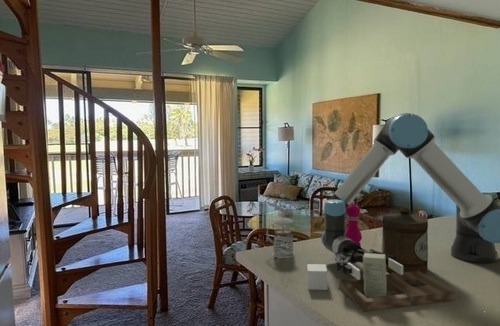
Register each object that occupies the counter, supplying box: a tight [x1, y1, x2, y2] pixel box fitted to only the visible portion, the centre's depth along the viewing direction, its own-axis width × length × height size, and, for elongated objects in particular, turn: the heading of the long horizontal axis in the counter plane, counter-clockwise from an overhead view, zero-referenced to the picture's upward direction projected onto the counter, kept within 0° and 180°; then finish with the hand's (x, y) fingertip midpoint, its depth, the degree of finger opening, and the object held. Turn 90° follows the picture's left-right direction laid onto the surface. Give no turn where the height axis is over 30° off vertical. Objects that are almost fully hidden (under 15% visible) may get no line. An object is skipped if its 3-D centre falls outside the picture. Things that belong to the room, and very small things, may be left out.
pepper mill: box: [345, 200, 363, 248], centre depth 150 cm, size 7×7×20 cm
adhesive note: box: [306, 263, 328, 291], centre depth 113 cm, size 6×6×6 cm
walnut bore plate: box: [338, 271, 456, 312], centre depth 105 cm, size 28×16×2 cm, turn 100°
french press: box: [265, 193, 296, 259], centre depth 143 cm, size 10×12×25 cm
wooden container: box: [381, 206, 429, 275], centre depth 124 cm, size 15×15×22 cm
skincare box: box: [362, 253, 388, 298], centre depth 104 cm, size 6×4×12 cm
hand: (380, 272), depth 101 cm, fingers open, 13 cm apart
